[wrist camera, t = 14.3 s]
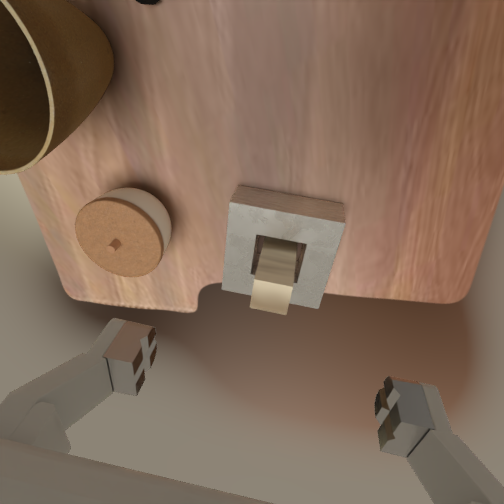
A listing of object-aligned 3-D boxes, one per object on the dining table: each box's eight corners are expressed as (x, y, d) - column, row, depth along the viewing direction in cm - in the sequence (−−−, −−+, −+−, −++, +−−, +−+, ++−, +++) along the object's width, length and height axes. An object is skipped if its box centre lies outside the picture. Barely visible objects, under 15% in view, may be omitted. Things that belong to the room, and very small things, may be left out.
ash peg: (268, 222, 44) (254, 279, 34) (298, 228, 44) (293, 287, 34) (264, 247, 46) (249, 307, 37) (293, 253, 46) (286, 315, 36)
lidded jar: (185, 249, 49) (160, 291, 41) (115, 240, 50) (78, 280, 42) (179, 179, 43) (148, 212, 35) (100, 171, 44) (54, 202, 36)
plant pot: (-8, -35, 33) (-220, -75, 20) (135, -31, 32) (6, -72, 18) (40, 122, 42) (-88, 167, 29) (155, 132, 40) (75, 184, 27)
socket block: (238, 184, 42) (229, 202, 38) (342, 203, 41) (345, 223, 37) (229, 267, 49) (221, 289, 45) (318, 284, 48) (318, 308, 44)
